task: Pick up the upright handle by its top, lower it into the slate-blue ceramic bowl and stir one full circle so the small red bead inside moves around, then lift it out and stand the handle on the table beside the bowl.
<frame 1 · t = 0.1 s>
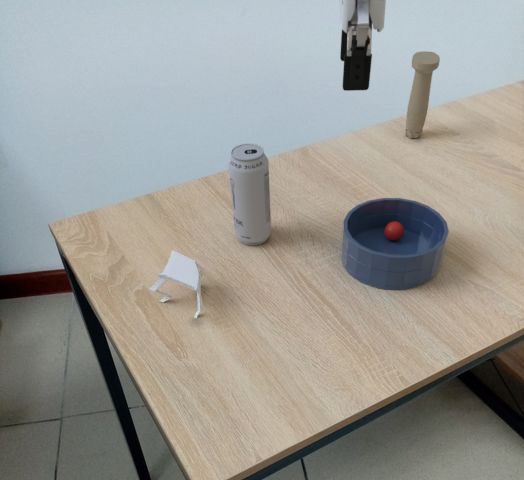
hand: (353, 74, 69), 25 cm above the table, tool pointing down, fingers open, 9 cm apart
bowl: (389, 258, 83), on the table
energy drink can: (253, 237, 89), on the table
handle: (412, 136, 110), on the table
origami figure: (187, 299, 79), on the table
bead: (394, 231, 84), point 2 cm above the table, touching bowl
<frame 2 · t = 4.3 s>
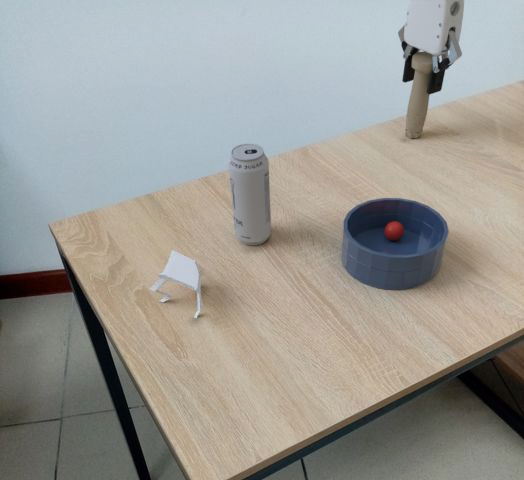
hand: (421, 85, 102), 10 cm above the table, tool pointing down, fingers closed on handle, 6 cm apart
handle: (412, 136, 110), on the table, touching gripper
everything else where it was.
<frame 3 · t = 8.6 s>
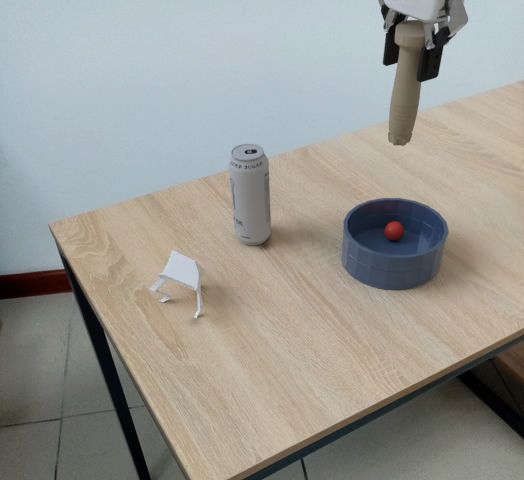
hand: (409, 69, 71), 25 cm above the table, tool pointing down, fingers closed on handle, 6 cm apart
handle: (398, 143, 78), point 14 cm above the table, touching gripper
everything else where it was.
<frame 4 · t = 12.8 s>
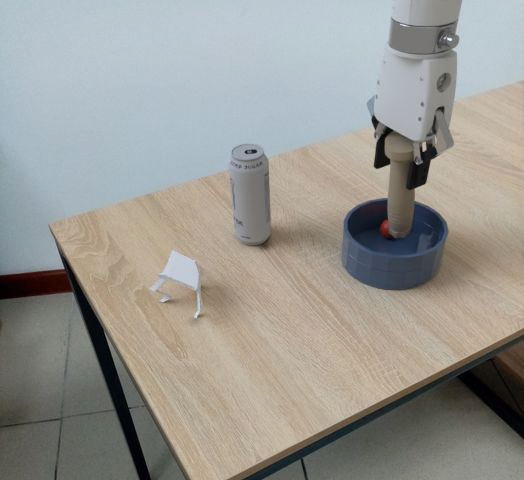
hand: (399, 174, 75), 13 cm above the table, tool pointing down, fingers closed on handle, 6 cm apart
handle: (399, 234, 82), point 3 cm above the table, touching bead, gripper
bead: (389, 228, 85), point 2 cm above the table, tilted 36°, touching bowl, handle
everything else where it was.
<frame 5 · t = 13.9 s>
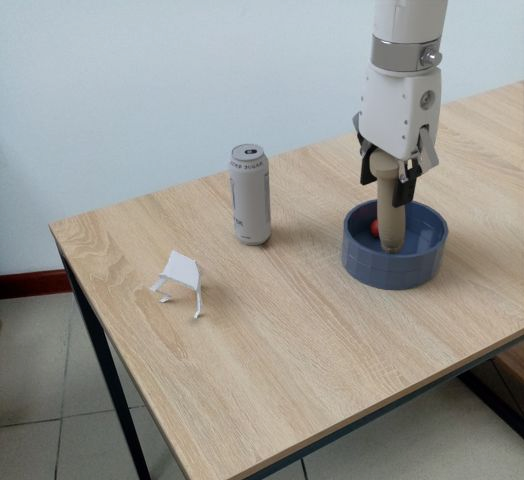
hand: (385, 191, 73), 13 cm above the table, tool pointing down, fingers closed on handle, 6 cm apart
handle: (392, 250, 80), point 3 cm above the table, touching gripper
bead: (380, 228, 85), point 2 cm above the table, tilted 87°, touching bowl
everything else where it was.
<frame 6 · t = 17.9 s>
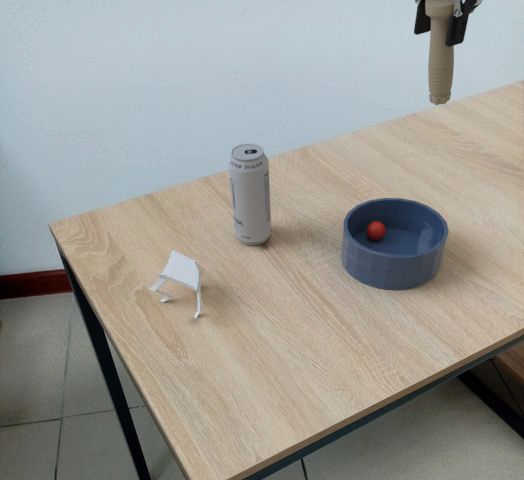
hand: (438, 37, 82), 24 cm above the table, tool pointing down, fingers closed on handle, 6 cm apart
handle: (439, 102, 89), point 14 cm above the table, touching gripper
bead: (376, 231, 84), point 2 cm above the table, tilted 93°, touching bowl
everything else where it was.
when the fingers open (10 cm above the table, at t = 21.6 s): handle stays where it is, on the table.
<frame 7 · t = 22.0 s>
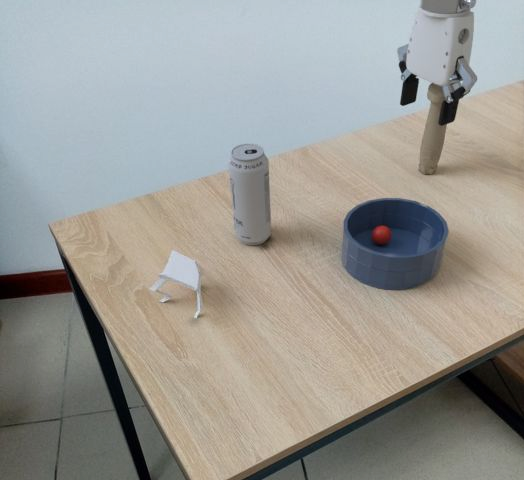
hand: (426, 113, 92), 11 cm above the table, tool pointing down, fingers open, 9 cm apart
handle: (426, 172, 100), on the table
bead: (381, 235, 83), point 2 cm above the table, tilted 43°, touching bowl
everything else where it was.
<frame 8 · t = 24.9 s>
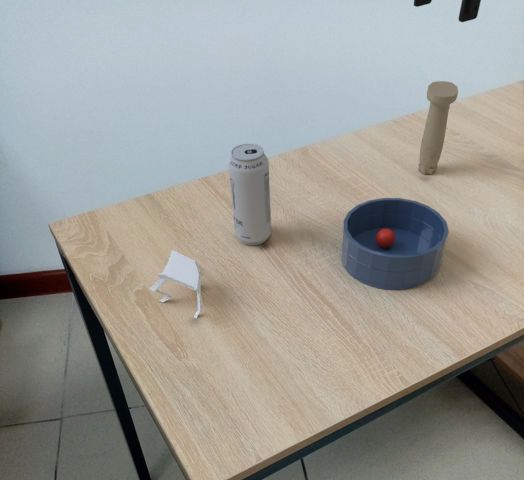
hand: (444, 12, 81), 26 cm above the table, tool pointing down, fingers open, 9 cm apart
bead: (385, 238, 83), point 2 cm above the table, tilted 16°, touching bowl
everything else where it was.
at the end: bead moved 2.4 cm from its start; bead inside the target area in the bowl (2.2 cm from its centre), point 2.3 cm above the bowl's base; handle inside the target area (2.1 cm from its centre), on the table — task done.
